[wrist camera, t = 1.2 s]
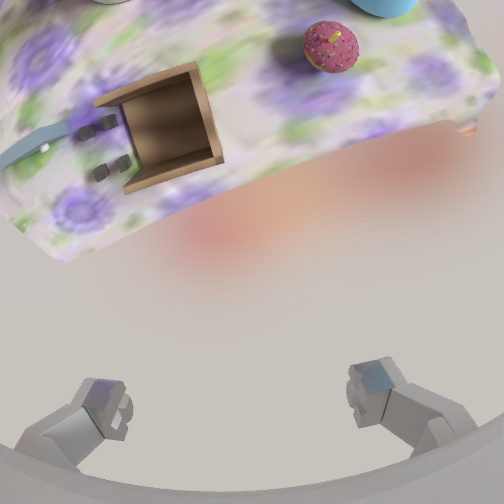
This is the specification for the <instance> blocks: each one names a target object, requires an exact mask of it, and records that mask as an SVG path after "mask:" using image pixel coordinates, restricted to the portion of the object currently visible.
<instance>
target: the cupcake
mask: <svg viewBox="0 0 504 504" xmlns="http://www.w3.org/2000/svg"><path fill="white" fill-rule="evenodd" d="M302 46H303V50H304V53H305V55H306V58H307V59H308V60H309V61H310V63H311V64H312V65H313V66H314V67H315V68H317V69H319V70H322V71H325V72H327V73H341V72H344V71H346V70H348V69H349V68H351V67H353V65H354V64H355V63H356V61H357V58H358V56H359V55H358V53H359V46H358V43H357V40H356V37H355V35H354V34H353V33H352V31H350V30H349V28H346V27H345V26H343V25H342V24H341V23H337V22H330V21H321V22H318V23H316V24H314V25H312V26H310V27H309V28H308V29H307V30H306V32H305V33H304V37H303V42H302Z"/></svg>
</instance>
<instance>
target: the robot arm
mask: <svg viewBox="0 0 504 504" xmlns="http://www.w3.org/2000/svg"><path fill="white" fill-rule="evenodd" d="M94 1H96V2H99V3H103V4H115V3H121V2H125V1H128V0H94ZM348 374H349V376H350V378H351V379H350V380H349V381H348V382H347V388H346V391H347V399H348V402H349V405H350V407H352V408H354V409H355V410H354V418H355V420H356V423H357V426H358V428H362V427H367V426H372V425H376V424H380V423H381V425H382V426H384V427H385V428H387V429H388V430H389V431H391V432H392V433H394V434H395V435H396V436H398V437H399V438H400V439H402V440H403V441H405V442H406V443H408V444H409V445H410V446H412V447H413V448H415V449H414V451H413V452H412V454H411V456H410V458H409V459H407V460H404V461H401V462H399V463H395V464H393V465H389V466H386V467H383V468H380V469H377V470H373V471H369V472H366V473H362V474H358V475H355V476H350V477H346V478H342V479H337V480H332V481H327V482H322V483H316V484H310V485H304V486H297V487H289V488H282V489H281V488H280V489H271V490H258V491H238V492H202V491H182V490H170V489H160V488H151V487H144V486H137V485H131V484H125V483H120V482H115V481H109V480H105V479H101V478H96V477H92V476H88V475H85V474H82V473H81V472H80V470H79V469H78V468H77V467H76V466H77V465H78V464H79V463H80V462H81V461H82V460H83V459H84V458H86V457H87V456H88V455H89V454H90V453H91V452H92V451H93V450H94V449H95V448H96V447H97V446H99V445H100V444H101V443H102V442H103V441H104V439H111V440H119V441H124V439H125V436H126V433H127V430H128V427H127V425H126V423H127V422H129V421H130V420H131V419H132V416H133V404H132V400H131V398H130V397H129V396H128V395H127V394H126V393H125V389H126V387H125V386H124V384H123V382H122V381H118V380H107V379H94V378H86V379H84V381H83V383H82V385H81V386H80V388H79V390H78V391H77V393H76V395H75V396H74V398H73V400H72V402H71V403H70V405H68V404H66V405H65V406H63V407H62V408H60V409H58V410H56V411H55V412H54V413H52V414H50V415H48V416H47V417H45V418H43V419H42V420H40V421H38V422H37V423H35V424H33V425H32V426H30V427H28V428H27V429H25V431H24V433H23V434H22V436H21V438H20V440H19V441H18V443H17V445H16V447H15V448H14V450H13V449H11V448H8V447H6V446H4V445H2V444H0V504H504V413H503V414H501V415H499V416H498V417H496V418H495V419H493V420H491V421H489V422H488V423H486V424H484V425H482V426H480V427H479V428H478V426H477V425H476V423H475V422H474V420H473V419H472V417H471V416H470V415H469V413H468V412H467V410H466V409H465V408H464V406H463V405H461V404H458V403H456V402H454V401H452V400H449V399H447V398H444V397H442V396H440V395H438V394H436V393H433V392H431V391H429V390H427V389H424V388H422V387H420V386H418V385H416V384H413V383H411V384H409V383H408V382H407V380H406V379H405V377H404V376H403V374H402V373H401V371H400V370H399V368H398V367H397V365H396V364H395V362H394V361H393V359H392V358H391V357H384V358H380V359H377V360H372V361H368V362H363V363H359V364H354V365H350V368H349V373H348Z"/></svg>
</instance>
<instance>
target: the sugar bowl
mask: <svg viewBox="0 0 504 504" xmlns="http://www.w3.org/2000/svg"><path fill="white" fill-rule="evenodd" d="M351 1H352V2H353V3H354V4H356V5H357V6H358V7H360V8H361V9H363V10H364V11H366V12H368V13H371V14H373V15H376V16H380V17H384V18H394V17H398V16H401V15H404V14H405V13H407V12H408V11H410V10H411V9H412V8H413V7H414V6H415V4H416V3H417V2H418V0H351Z"/></svg>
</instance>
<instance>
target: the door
mask: <svg viewBox="0 0 504 504" xmlns="http://www.w3.org/2000/svg"><path fill="white" fill-rule="evenodd" d="M69 133H70V131H69V128H68V125H67V122H62V123H58V124H54V125H50V126H46V127H42V128H39V129H37V130H35V131H34V132H32V133H31V134H29V135H28V136H26V137H25V138H23V139H22V140H20V141H19V142H17V143H16V144H15V145H13V146H12V147H10V148H9V149H8V150H6V151H5V152H3V153H2V154H1V155H0V171H1V170H3V169H5V168H7V167H9V166H11V165H13V164H15V163H17V162H19V161H21V160H23V159H26V158H28V157H30V156H31V155H33V154H34V153H36V152H38V151H39V150H40V151H41V154H42V153H44V152H46V151H48V150H50V146H49V145H50V144H51V143H53V142H55V141H57V140H58V139H60V138H62V137H64V136H66V135H67V134H69Z"/></svg>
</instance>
